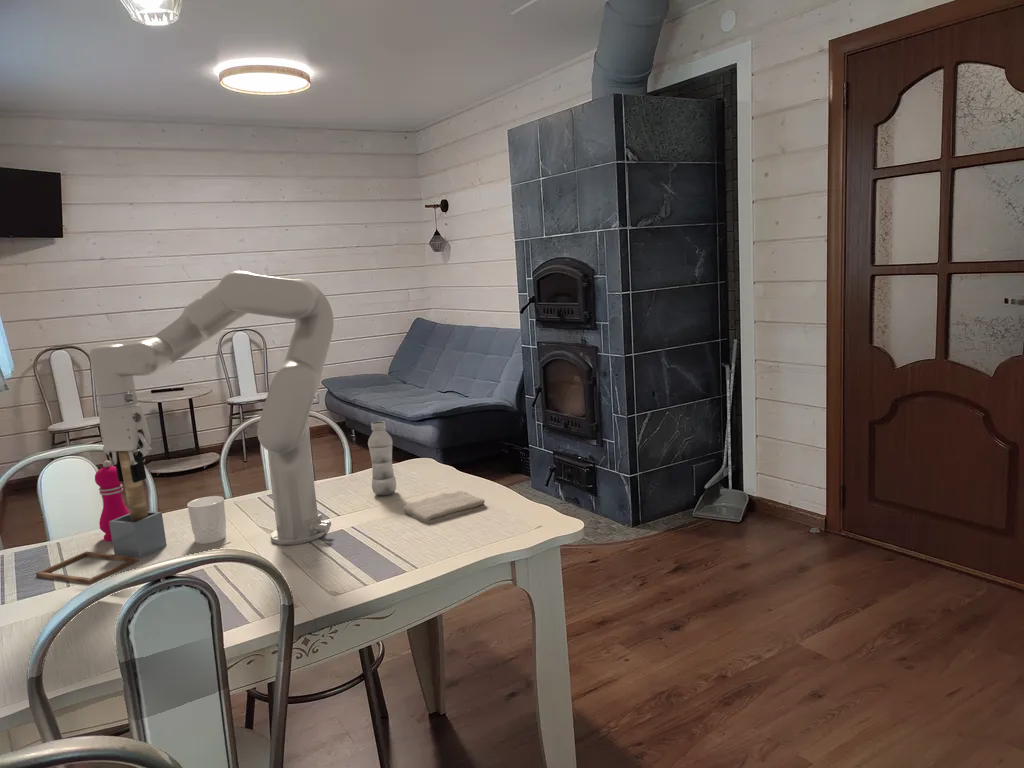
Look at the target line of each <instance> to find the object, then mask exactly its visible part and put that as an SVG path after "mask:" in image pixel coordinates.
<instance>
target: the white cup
mask: <svg viewBox="0 0 1024 768" xmlns="http://www.w3.org/2000/svg"><path fill="white" fill-rule="evenodd" d="M224 500H225V499H224V497H223V496H221V495H220V496H219V495H212V496H211V495H210V496H205V497H204V496H203V497H199V498H196V499H193V500H191V501H189V502H187V504H186V505H187V510H188V516H189V521H190V525H191V530H192V533H193V535H194V536H193V538H194V542H195V543H196V544H201V545H203V544H205V545H206V544H211V543H214V542H215V543H216V542H219V541H221V540H223V539H225V538H226V537H227V530H226V529H227V525H226V524H227V522H226V521H227V519H226V510H225V501H224Z"/></svg>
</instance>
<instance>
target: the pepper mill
mask: <svg viewBox="0 0 1024 768" xmlns="http://www.w3.org/2000/svg"><path fill="white" fill-rule="evenodd" d="M102 466H103V467H101V468H100V469H98V470H97V472H96V473H94V474H95V475H94V482H95V484H96V485H97V486H98V487H99V489H98V491H99V495H100V496H101V497H102V501H103V504H102V505H103V506H102V511H101V513H100V517H99V529H100V531H102V532H103V533H104V535H103V540H104V542H112V537H111V531H110V525H109V521H111V520H114V519H116V518H119V517H121V516H124V515H126V514H129V513H130V512H129V508H128V507H127V506H126V505H125V502H124V500H123V495H122V494H123V493H122V492H123V490H124V488H123V486H124V484H121V483H122V482H119V480H118V475H117V470H116V465H115V466H114V465H112V462H111V461H110V460H109V459H108V460H106V459H105V460H104V461H103V462H102Z"/></svg>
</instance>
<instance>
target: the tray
mask: <svg viewBox="0 0 1024 768" xmlns="http://www.w3.org/2000/svg"><path fill="white" fill-rule="evenodd" d="M86 557H87V558H94V559H95V558H96V559H104V560H111V561H112V560H113V561H120V562H122V563H120V564H118V565H116V566H114V567H112V568H109V569H107V570H105V571H103V572H101V573H98V574H97V575H95V576H92V577H82V576H77V575H69V574H67V575H66V574H60V573H54V571H56V570H59V569H61V568H64V567H66V566H68V565H70V564H73V563H75V562H78V561H80V560H82V559H84V558H86ZM139 559H140V558H138V557H130V556H122V555H114V554H113V553H105V552H96V551H95V552H94V551H93V552H92V551H85V552H81V553H80V554H76V555H75V556H72V557H71V558H67V559H65V560H63V561H61V562H59V563H57V564H54V565H52V566H49V567H47V568H45V569H42V570H40V571H37V572H35V576H36V577H37V578H41V579H42V578H43V579H49V580H56V581H57V580H58V581H64V582H71V583H79V584H86V585H92V584H94V583H96V582H98V581H100V580H103V579H104V578H106V577H108V576H110V575H113V574H115V573H117V572H119V571H121V570H124V569H125V568H128V567H129V566H132V565H134V564H136V563H138V562H139Z"/></svg>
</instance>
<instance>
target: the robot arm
mask: <svg viewBox="0 0 1024 768" xmlns="http://www.w3.org/2000/svg"><path fill="white" fill-rule="evenodd" d="M247 314H251V315H259V316H267V317H274V318H279V319H281V318H282V319H288V320H294V322H295V324H294V329H293V333H292V335H291V338H290V340H289V347H288V349H287V353H286V354H285V358H284V361H283V363H282V365H281V366H280V367H279V369H277V370H276V372H275V373H274V376H273V377H272V380H271V382H270V385H269V388H268V391H267V395H266V399H265V402H264V404H263V405H264V406H263V409H262V411H261V415H260V419H259V421H258V425H257V438H258V441H259V443H260V445H261V446H262V447H263V448H264V450H266V451H267V459H268V467H269V477H270V486H271V492H272V493H271V494H272V500H273V501H272V502H273V509H274V517H275V523H276V524H275V526H276V529H275V530H274V531H272V532H271V534H270V540H271V542H272V543H274V544H277V545H284V546H288V545H289V546H290V545H300V544H305V543H309V542H312V541H315V540H317V539H319V538H321V537H323V536H324V535H325V534H326V533H329V531H330V529H331V526H332V522H331V521H329V520H323V515H322V513H319V512H318V506H317V505H318V504H317V496H316V487H315V486H316V485H315V479H314V478H315V477H314V471H313V468H314V467H313V459H312V453H311V452H312V451H311V450H312V449H311V448H312V447H311V438H310V437H311V436H310V435H311V434H310V423H309V415H310V412H311V410H312V406H313V403H314V399H315V397H316V394H317V392H318V390H319V387H320V384H321V377H322V373H323V369H324V366H325V363H326V360H327V356H328V351H329V348H330V346H331V345H330V344H331V340H332V337H333V333H334V332H333V331H334V313H333V309H332V307H331V304H330V302H329V299H328V298H327V297H326V296H325V294H324V293H323V292H322V291H321V290H320V288H318V287H317V286H316V285H315V284H314V283H312V282H311V281H309V280H306V279H301V278H295V279H292V278H285V277H284V278H283V277H275V276H270V275H262V274H261V275H260V274H256V273H254V272H252V271H247V270H234V271H231V272H229V273H227V274H226V275H225V276H223V277H222V278H221V280H220V281H219V283H218V284H217V285H216V286H214V287H213V288H212V289H210V290H208V291H207V292H206V293H204V294H202V295H201V296H199V297H198V298H196V299H194V300H193V301H191V303H189V304H187V306H185V308H183V311H182V313H181V315H180V316H179V317H178V318H176V319H175V320H174V321H173V322H171V324H169V325H168V326H166V327H164V328H163V329H161V330H160V331H159V332H157V333H156V334H154V335H152V336H151V337H149V338H146V339H142V340H139V341H136V342H132V343H128V344H122V343H113V344H112V343H111V344H103V345H98V346H94V347H91V349H90V351H89V359H90V365H91V370H92V375H93V379H94V386H95V387H94V388H95V391H96V396H97V401H98V407H99V411H98V414H99V416H98V417H99V418H98V419H99V431H100V437H101V441H102V446H103V447H102V448H103V449H102V452H104V453H105V454H106V455H108V457H109V458H110V459H111V460H112V464H113V466H114V465H115V467H116V470H117V475H118V480H119V482H121V483H122V482H123V483H124V480H123V475H122V470H121V464H120V459H119V454H118V452H128V453H129V456H130V460H131V463H132V465H130V470H131V475H132V480H133V482H139V481H141V480H142V481H143V480H146V479H147V474H146V469H145V461H146V457H147V456H148V454H150V453H151V452H152V450H153V449H152V447H151V445H152V439H151V434H150V430H149V426H148V425H149V424H148V422H147V418H146V415H145V413H144V410H143V408H142V405H141V404H139V403H138V396H137V391H136V387H135V380H134V376H135V377H141V376H143V377H144V376H150V375H154V374H155V373H158V372H160V371H162V370H164V369H166V368H168V367H169V366H171V365H173V364H174V363H175V362H177V361H179V360H180V359H181V358H183V357H184V356H186V355H187V354H189V353H190V352H192V351H193V350H195V349H196V348H197V347H198V346H200V345H202V344H203V343H205V342H207V341H209V340H211V339H212V338H213V337H215V336H216V335H218V334H219V333H221V332H222V331H223V330H225V329H226V328H228V327H229V326H230V325H232V324H233V323H234V322H237V321H238V320H239V319H242V317H244V316H245V315H247ZM136 452H137V455H136V456H135V453H136Z"/></svg>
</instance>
